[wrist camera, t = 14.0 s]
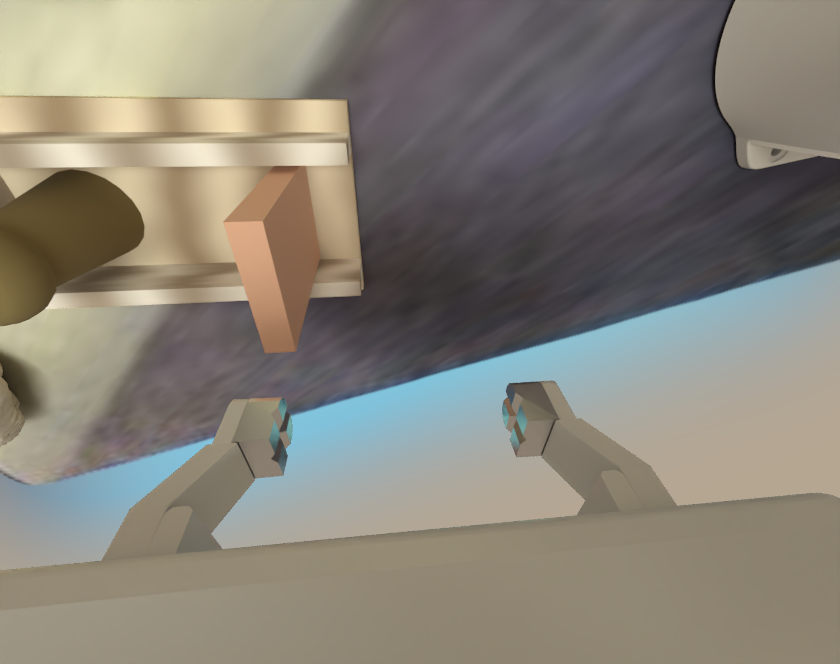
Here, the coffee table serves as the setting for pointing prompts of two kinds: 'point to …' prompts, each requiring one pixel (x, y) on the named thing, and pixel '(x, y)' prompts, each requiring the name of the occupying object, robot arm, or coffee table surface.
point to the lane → (187, 184)
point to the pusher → (276, 254)
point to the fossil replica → (9, 413)
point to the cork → (60, 238)
